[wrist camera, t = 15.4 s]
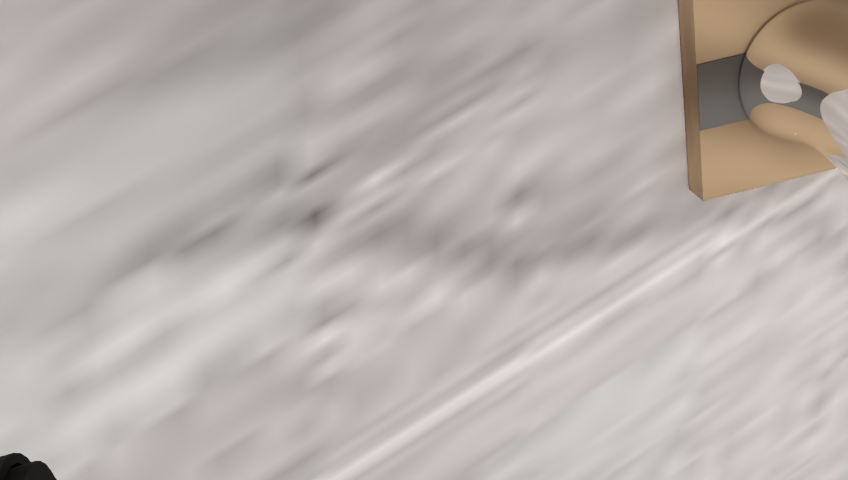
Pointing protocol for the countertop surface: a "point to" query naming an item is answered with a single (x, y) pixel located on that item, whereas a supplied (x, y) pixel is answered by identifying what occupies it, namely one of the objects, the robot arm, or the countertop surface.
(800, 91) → the beer glass
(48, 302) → the countertop surface
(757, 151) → the oak board
